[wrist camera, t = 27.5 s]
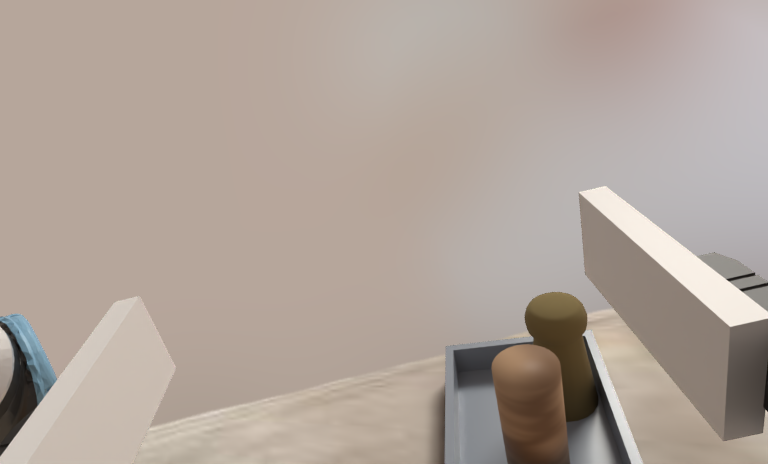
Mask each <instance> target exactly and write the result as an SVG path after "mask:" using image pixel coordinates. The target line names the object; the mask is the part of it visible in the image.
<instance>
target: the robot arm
mask: <svg viewBox="0 0 768 464" xmlns="http://www.w3.org/2000/svg"><path fill="white" fill-rule="evenodd" d="M579 202H580V215H581V227H582V239H583V252H584V265H585V274H586V276H587V277H588V278H589V279H590V280H591V282H592V283H593V284H594V285H595V286H596V288H597V289H598V290H599V291H600V293H601V294H602V295H603V296H604V297H605V299H606V300H607V301H608V302H609V304H610V305H611V306H612V307H613V308H614V310H615V311H616V312H617V313H618V314H619V316H620V317H621V318H622V319H623V320H624V322H625V323H626V324H627V325H628V327H629V328H630V329H631V330H632V331H633V333H634V334H635V335H636V336H637V337H638V339H639V340H640V341H641V342H642V343H643V345H644V346H645V347H646V348H647V349H648V351H649V352H650V353H651V354H652V356H653V357H654V358H655V359H656V360H657V362H658V363H659V364H660V365H661V366H662V368H663V369H664V370H665V371H666V372H667V374H668V375H669V376H670V377H671V379H672V380H673V381H674V382H675V383H676V385H677V386H678V387H679V388H680V389H681V391H682V392H683V393H684V394H685V395H686V397H687V398H688V399H689V400H690V402H691V403H692V404H693V405H694V406H695V408H696V409H697V410H698V411H699V412H700V414H701V415H702V416H703V417H704V418H705V420H706V421H707V422H708V423H709V425H710V426H711V427H712V428H713V429H714V431H715V432H716V433H717V434H718V435H719V437H720V438H721V439H722V440H723V441H727V440H732V439H737V438H741V437H746V436H750V435H755V434H760V433H763V427H764V417H765V409H766V410H767V411H768V282H767V281H766V280H765V279H763V278H762V277H760V276H759V275H755V273H754V272H753V271H752V270H750V269H749V268H747V267H746V266H744V265H743V264H742V263H740V262H739V261H737V260H734V259H732V258H728V257H725V256H723V255H720V254H717V253H715V252H714V253H709V254H705V255H701V256H695V255H694V254H693V253H691V252H690V251H689V250H687V249H686V248H685V247H683V246H682V245H681V244H680V243H678V242H677V241H676V240H674V239H673V238H672V237H671V236H669V235H668V234H667V233H665V232H664V231H663V230H661V229H660V228H659V227H658V226H656V225H655V224H654V223H652V222H651V221H650V220H649V219H647V218H646V217H645V216H643V215H642V214H641V213H639V212H638V211H637V210H636V209H634V208H633V207H632V206H630V205H629V204H628V203H627V202H625V201H624V200H623V199H621V198H620V197H619V196H618V195H616V194H615V193H614V192H612V191H611V190H610V189H608V188H607V187H606V186H604V187H599V188H595V189H591V190H586V191H583V192H579ZM175 369H176V367H175V365H174V363H173V361H172V359H171V357H170V355H169V353H168V351H167V349H166V347H165V345H164V343H163V341H162V339H161V337H160V335H159V333H158V331H157V329H156V327H155V325H154V323H153V321H152V320H151V317H150V315H149V313H148V312H147V309H146V307H145V306H144V304H143V301H142V300H141V298H140V296H137V297H133V298H129V299H125V300H120V301H116V302H114V304H113V305H112V307H111V308H110V309H109V311H108V312H107V313H106V315H105V316H104V317H103V319H102V320H101V321H100V323H99V324H98V325H97V327H96V328H95V329H94V331H93V332H92V333H91V335H90V336H89V338H88V339H87V340H86V342H85V343H84V345H83V346H82V347H81V348H80V350H79V351H78V352H77V354H76V355H75V356H74V358H73V359H72V360H71V362H70V363H69V365H68V366H67V367H66V369H65V370H64V371H63V373H62V374H61V375H60V377H59V378H58V379H57V378H56V376H55V373H54V371H53V369H52V366H51V364H50V362H49V361H48V358H47V356H46V354H45V352H44V350H43V348H42V346H41V344H40V342H39V340H38V338H37V336H36V334H35V333H34V331H33V329H32V327H31V325H30V324H29V322H28V320H26V319H25V317H24V316H23V315H20V314H11V315H9V316H5V317H0V464H133V462H134V460H135V458H136V456H137V453H138V451H139V449H140V447H141V445H142V442H143V440H144V438H145V436H146V434H147V431H148V429H149V427H150V425H151V422H152V420H153V418H154V416H155V414H156V411H157V409H158V407H159V405H160V402H161V400H162V398H163V396H164V394H165V391H166V389H167V387H168V385H169V383H170V380H171V378H172V376H173V374H174V371H175Z"/></svg>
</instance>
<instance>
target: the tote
mask: <svg viewBox="0 0 768 464" xmlns="http://www.w3.org/2000/svg"><path fill="white" fill-rule="evenodd" d="M582 336H583V340H584V344H585V347H586V351H587V355H588V359H589V363H590V367H591V371H592V374H593V378H594V382H595V386H596V390H597V394H598V406H597V407H596V409H595V411H594V412H593V413H592V414H590V415H589V416H588V417H586V418H584V419H581V420H579V421H572V422H566V426H567V437H568V447H569V457H570V464H643V462H642V459H641V457H640V454H639V451H638V449H637V446H636V444H635V441H634V439H633V436H632V433H631V431H630V428H629V426H628V423H627V420H626V418H625V415H624V413H623V410H622V407H621V405H620V402H619V400H618V397H617V394H616V392H615V389H614V387H613V384H612V382H611V379H610V376H609V374H608V371H607V369H606V366H605V363H604V361H603V358H602V356H601V353H600V350H599V348H598V345H597V343H596V340H595V337H594V335H593V332H592V330H585V332H584V334H583V335H582ZM523 344H530V345H533V337H523V338H514V339H505V340H496V341H487V342H478V343H470V344H461V345H453V346H446V376H445V464H508V463H507V458H506V452H505V446H504V440H503V434H502V428H501V422H500V417H499V411H498V405H497V399H496V393H495V387H494V381H493V376H492V369H491V367H492V362H493V360H494V358H495V357H496V356H497V355H498V354H499V353H500V352H501V351H503V350H505V349H507V348H509V347H512V346H516V345H523Z"/></svg>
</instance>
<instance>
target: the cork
mask: <svg viewBox="0 0 768 464" xmlns="http://www.w3.org/2000/svg"><path fill="white" fill-rule="evenodd" d="M525 323H526V326H527V329H528V331H529V333H530V335H531V336H532V337H533V345H537V346H541V347H544V348H546V349H548V350H550V351H551V352H553V353H554V354H555V355H556V356H557V358H558V359H559V361H560V365H561V376H562V386H563V396H564V406H565V416H566V422H572V421H579V420H581V419H584V418H586V417H588V416H589V415H590V414H592V413H593V412H594V411H595V409H596V407H597V406H598V394H597V390H596V386H595V382H594V378H593V374H592V371H591V367H590V363H589V359H588V355H587V351H586V347H585V344H584V340H583V336H582V335H583V334H584V332H585V330H586V326H587V313H586V311H585V309H584V306H583V304H582V303H581V302H580V301H579V300H578V299H577V298H576V297H574V296H572V295H570V294H566V293H562V292H551V293H545V294H542V295H539V296H537V297H536V298H534V299H532V301H531V302H530V303H529V305H528V306H527V308H526V312H525Z"/></svg>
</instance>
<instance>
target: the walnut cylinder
mask: <svg viewBox="0 0 768 464" xmlns="http://www.w3.org/2000/svg"><path fill="white" fill-rule="evenodd" d="M491 369H492V376H493V381H494V387H495V393H496V399H497V405H498V411H499V417H500V422H501V428H502V434H503V440H504V446H505V452H506V458H507V463H508V464H570V457H569V447H568V437H567V426H566V416H565V406H564V396H563V386H562V376H561V365H560V361H559V359H558V358H557V356H556V355H555V354H554V353H553V352H551V351H550V350H548V349H546V348H544V347H541V346H537V345H530V344H523V345H516V346H512V347H509V348H507V349H505V350H503V351H501V352H500V353H499V354H498V355H497V356H496V357H495V358H494V360H493V362H492V367H491Z"/></svg>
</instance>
